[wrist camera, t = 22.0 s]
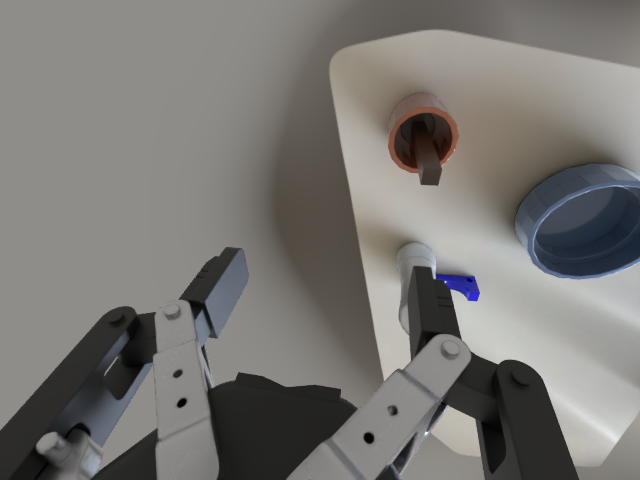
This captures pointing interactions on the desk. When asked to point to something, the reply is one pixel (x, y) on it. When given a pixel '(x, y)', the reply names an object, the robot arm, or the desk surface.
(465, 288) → the cable holder
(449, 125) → the crock
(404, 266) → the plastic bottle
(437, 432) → the desk surface
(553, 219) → the bowl
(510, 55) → the desk surface
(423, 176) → the disc-ended square rod
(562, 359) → the desk surface
